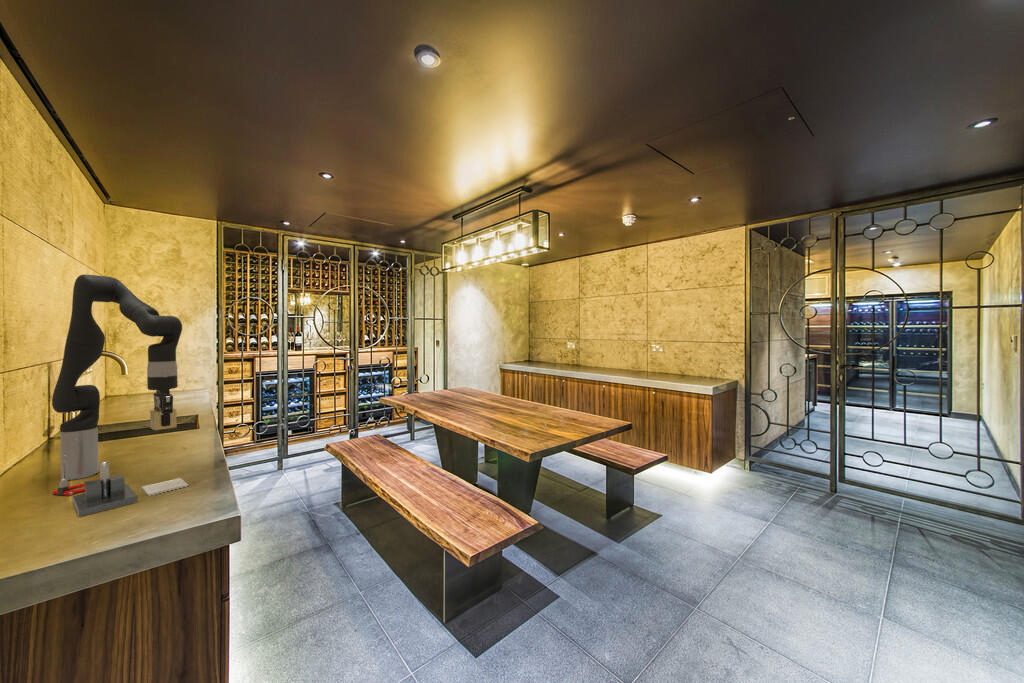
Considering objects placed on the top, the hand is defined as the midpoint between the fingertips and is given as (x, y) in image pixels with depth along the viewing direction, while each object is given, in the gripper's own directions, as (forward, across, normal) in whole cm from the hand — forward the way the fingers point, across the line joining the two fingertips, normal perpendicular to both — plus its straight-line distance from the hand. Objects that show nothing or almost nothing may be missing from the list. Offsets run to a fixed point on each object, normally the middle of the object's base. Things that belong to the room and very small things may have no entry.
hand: (163, 424), depth 130 cm
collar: (+1, 0, 0) cm, 1 cm away
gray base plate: (+21, 0, -14) cm, 26 cm away
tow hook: (+22, -21, -18) cm, 35 cm away
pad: (+21, 0, 0) cm, 21 cm away
